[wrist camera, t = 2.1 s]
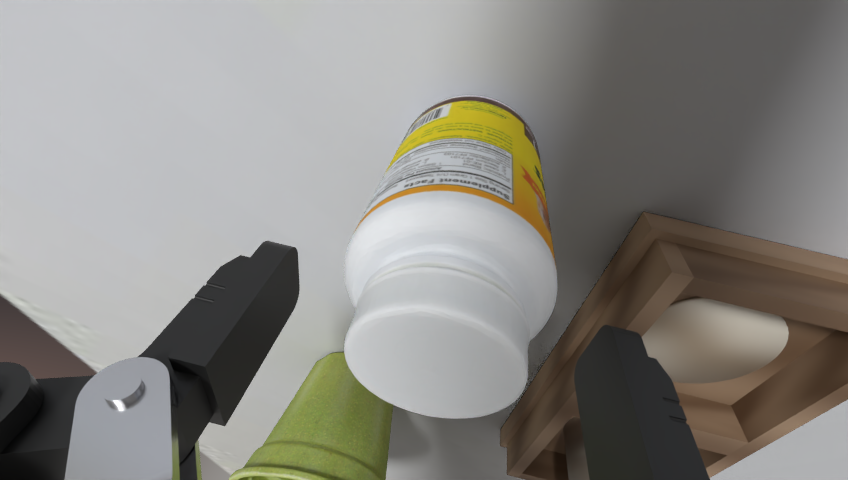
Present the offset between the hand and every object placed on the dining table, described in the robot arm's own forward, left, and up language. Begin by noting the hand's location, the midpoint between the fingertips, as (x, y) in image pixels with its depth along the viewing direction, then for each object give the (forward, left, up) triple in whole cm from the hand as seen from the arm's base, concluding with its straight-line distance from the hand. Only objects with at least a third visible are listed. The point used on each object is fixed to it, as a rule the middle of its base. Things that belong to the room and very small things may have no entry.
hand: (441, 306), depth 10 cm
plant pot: (+19, -4, -8) cm, 21 cm away
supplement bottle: (0, 0, -8) cm, 8 cm away
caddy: (+11, +13, -8) cm, 19 cm away
